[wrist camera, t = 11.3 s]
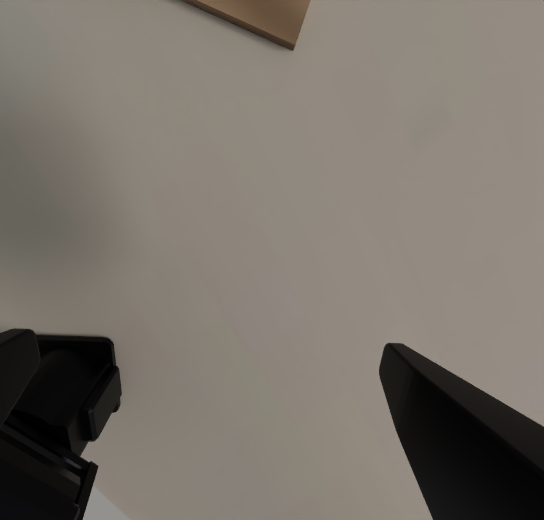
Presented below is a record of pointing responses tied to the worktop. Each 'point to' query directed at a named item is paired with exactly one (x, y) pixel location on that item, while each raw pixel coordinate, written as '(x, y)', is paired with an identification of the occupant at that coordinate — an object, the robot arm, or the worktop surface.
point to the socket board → (261, 16)
